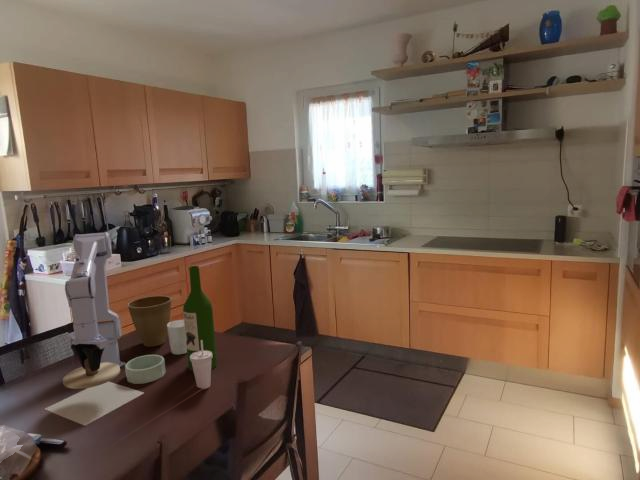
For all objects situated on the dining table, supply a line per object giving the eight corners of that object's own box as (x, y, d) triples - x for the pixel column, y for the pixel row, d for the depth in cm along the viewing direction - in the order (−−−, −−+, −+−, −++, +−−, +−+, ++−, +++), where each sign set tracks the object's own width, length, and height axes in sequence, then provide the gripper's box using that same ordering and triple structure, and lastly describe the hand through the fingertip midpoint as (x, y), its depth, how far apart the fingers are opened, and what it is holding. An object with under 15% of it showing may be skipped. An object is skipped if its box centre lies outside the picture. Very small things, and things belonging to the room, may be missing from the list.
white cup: (172, 347, 162) (169, 320, 160) (195, 345, 163) (192, 318, 161) (167, 356, 154) (164, 328, 153) (190, 354, 155) (188, 326, 153)
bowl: (119, 381, 138) (117, 366, 137) (149, 366, 147) (147, 352, 146) (143, 388, 132) (142, 373, 132) (172, 372, 142) (171, 358, 141)
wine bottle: (182, 370, 143) (172, 269, 138) (200, 358, 151) (191, 263, 146) (206, 374, 140) (196, 271, 134) (222, 361, 148) (214, 264, 142)
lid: (52, 382, 121) (49, 365, 121) (99, 361, 133) (97, 346, 133) (84, 393, 114) (81, 375, 114) (131, 370, 126) (129, 354, 126)
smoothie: (209, 392, 128) (205, 345, 126) (188, 390, 129) (183, 344, 127) (218, 381, 134) (214, 336, 132) (198, 380, 136) (194, 335, 133)
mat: (44, 410, 122) (44, 408, 122) (104, 381, 137) (104, 380, 137) (85, 427, 113) (85, 425, 113) (144, 394, 128) (144, 392, 128)
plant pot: (183, 337, 171) (179, 296, 168) (156, 353, 157) (151, 308, 154) (152, 333, 176) (147, 294, 173) (123, 348, 162) (118, 305, 160)
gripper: (54, 322, 121) (61, 369, 124) (87, 329, 114) (94, 380, 117) (79, 314, 128) (85, 359, 130) (112, 321, 120) (118, 369, 123)
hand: (91, 368), depth 124 cm, fingers closed on lid, 3 cm apart
